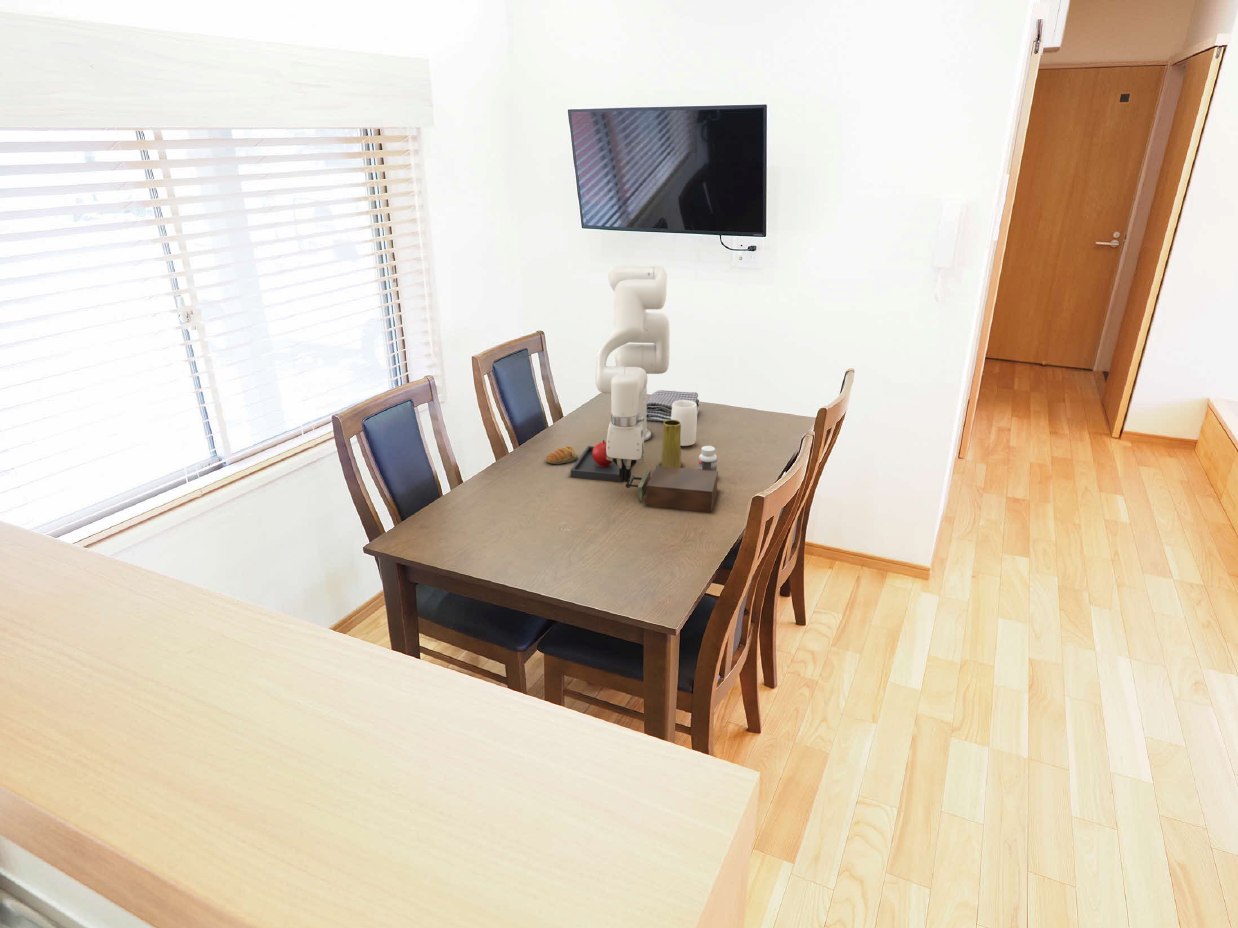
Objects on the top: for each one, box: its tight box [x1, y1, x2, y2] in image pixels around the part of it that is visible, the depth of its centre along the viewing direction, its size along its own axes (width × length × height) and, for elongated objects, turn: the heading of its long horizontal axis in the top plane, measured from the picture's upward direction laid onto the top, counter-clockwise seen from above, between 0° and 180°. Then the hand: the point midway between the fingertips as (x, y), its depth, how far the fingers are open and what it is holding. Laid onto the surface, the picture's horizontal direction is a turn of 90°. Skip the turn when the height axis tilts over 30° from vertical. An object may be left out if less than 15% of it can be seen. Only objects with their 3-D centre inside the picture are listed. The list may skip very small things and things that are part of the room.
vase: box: [660, 420, 682, 468], centre depth 239 cm, size 6×6×14 cm
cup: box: [671, 400, 698, 447], centre depth 255 cm, size 8×8×14 cm
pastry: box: [546, 445, 578, 465], centre depth 245 cm, size 9×7×4 cm
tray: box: [570, 445, 627, 483], centre depth 241 cm, size 20×16×2 cm
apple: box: [592, 439, 613, 467], centre depth 240 cm, size 7×7×8 cm
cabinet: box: [646, 465, 719, 513], centre depth 220 cm, size 18×14×6 cm
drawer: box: [625, 468, 652, 502], centre depth 221 cm, size 21×13×4 cm, turn 77°
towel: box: [647, 389, 700, 422], centre depth 281 cm, size 15×18×8 cm
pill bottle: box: [697, 445, 718, 471], centre depth 231 cm, size 5×5×10 cm
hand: (625, 479), depth 223 cm, fingers closed
